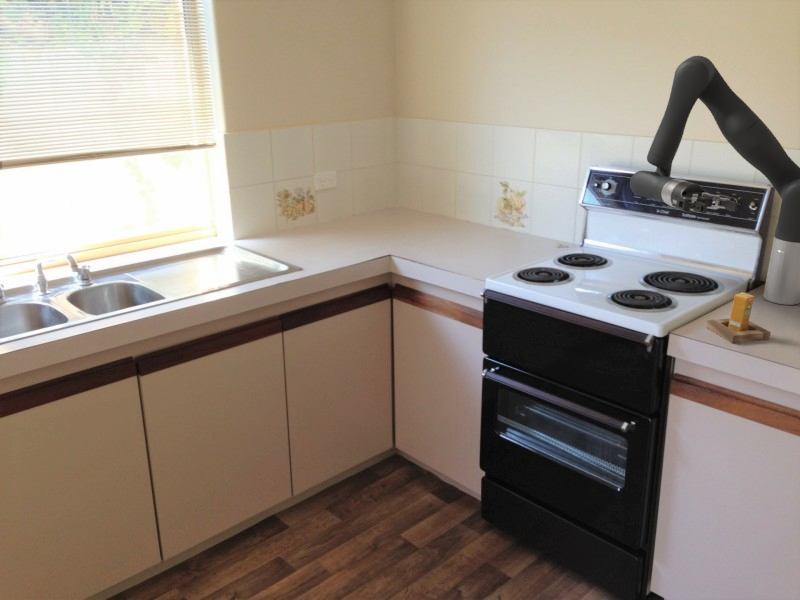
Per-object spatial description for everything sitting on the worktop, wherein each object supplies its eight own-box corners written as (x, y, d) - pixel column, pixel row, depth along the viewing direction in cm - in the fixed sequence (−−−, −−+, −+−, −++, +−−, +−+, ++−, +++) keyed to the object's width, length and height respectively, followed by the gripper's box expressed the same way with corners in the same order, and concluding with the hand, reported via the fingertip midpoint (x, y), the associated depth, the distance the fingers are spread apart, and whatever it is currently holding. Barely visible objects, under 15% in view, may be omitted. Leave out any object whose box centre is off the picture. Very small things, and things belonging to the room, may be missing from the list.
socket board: (741, 324, 182) (742, 317, 181) (769, 340, 173) (770, 332, 172) (706, 327, 180) (707, 320, 179) (732, 343, 171) (733, 335, 170)
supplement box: (739, 337, 174) (746, 298, 171) (726, 332, 177) (733, 294, 173) (747, 334, 176) (754, 295, 173) (734, 330, 179) (741, 291, 175)
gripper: (660, 182, 191) (697, 194, 176) (708, 180, 194) (748, 192, 179) (656, 210, 193) (693, 224, 178) (704, 207, 196) (743, 221, 181)
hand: (720, 208), depth 179 cm, fingers open, 8 cm apart
